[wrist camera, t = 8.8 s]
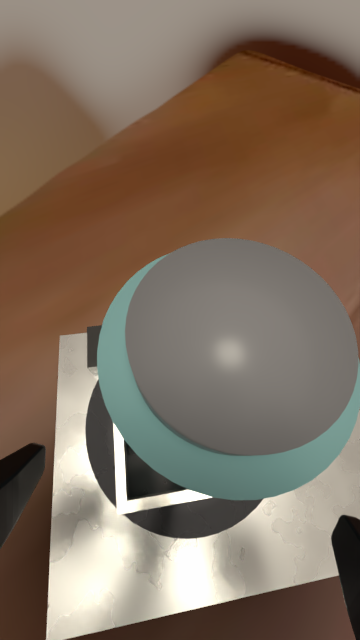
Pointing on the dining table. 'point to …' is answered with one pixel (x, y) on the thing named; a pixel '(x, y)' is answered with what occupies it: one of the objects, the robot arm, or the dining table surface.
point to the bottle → (230, 369)
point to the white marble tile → (168, 522)
